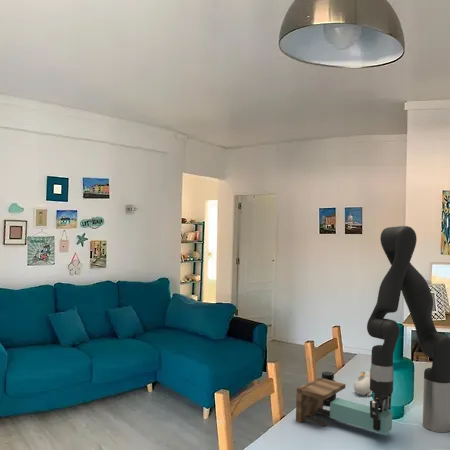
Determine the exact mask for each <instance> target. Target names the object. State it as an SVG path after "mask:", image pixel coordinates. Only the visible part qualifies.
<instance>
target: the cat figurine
mask: <svg viewBox="0 0 450 450" xmlns="http://www.w3.org/2000/svg"><path fill="white" fill-rule="evenodd" d="M353 390H354V391H355V392H356V394H357V395H360V396H364V395H366V396H367V397H370V396H371V395H372V394H371V390H370V370H369V371H368V370H365V371H361V372H360V374H359V375H357V379H356V380H355V381H354V383H353Z"/></svg>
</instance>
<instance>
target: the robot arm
mask: <svg viewBox="0 0 450 450" xmlns="http://www.w3.org/2000/svg"><path fill="white" fill-rule="evenodd" d="M379 239H380V245H381V247H382V250H383V252H384V254H385V256H386V257H387V260H388V262H389V263H390V265H391V266H390V268H389V269H388V271H387V273H386V274H385V276H384V277H383V279H382V281H381V283H380V286H379V290H378V292H377V293H378V295H377V299H376V304H375V306H374V308H373V310H372V312H371V314H370V316H369V318H368V320H367V324H366V331H367V334H368V335H369V336H370V337H371V338H375V339H379V340H383V344H377V345H373V346H372V348H371V359H370V360H371V362H370V363H371V364H370V369H369V372H370V390H371V391H372V392H373V393H374V395H373V399H372V400H370V401H369V407H370V418H373V429H374V430H377V431H379V430H380V419H381V414H382V413H383V411H388V412H390V410H391V407H392V395H393V392H394V374H395V373H394V352H395V349H396V345H397V342H398V339H399V336H400V330H401V329H400V326H399V324H398V322H397V321H396V320H393V319H390V318H385V317H386V316H387V315H388V314H391V313H396V312H397V311H398V309H399V304H400V299H401V295H402V297H403V299H404V302H405V304H406V305H407V309H408V311H409V314H410V317H411V320H412V322H413V325H414V328H415V331H416V336H417V339H418V340H417V341H418V344H419V348H420V350H421V352H422V353H423V354H424V355H425V357H428V358H430V359H432V363H431V367H427V368H425V369H424V371H423V401H422V405H423V406H422V427H424V428H425V429H427V430H429V431H432V432H437V433H448V432H450V337H449V336H447V335H443V334H441V333H439V332H438V330H437V329H436V327H435V323H434V321H433V316H432V315H433V307H434V298H433V297H434V296H433V294H432V292H431V289H430V285H429V283H428V282H427V280H426V279H425V277H424V276H423V275H422V274H421V273H420V272H419V271H418V270H417V268H415V267H414V265H412V263H411V260H412V258H413V255H414V253H415V249H416V246H417V245H416V244H417V242H418V241H417V239H418V238H417V233H416V231H415V229H413V227H411V226H407V225H400V226H390V227H386V228H384V229H383V230H382V231H381V234H380V238H379ZM379 409H380V410H379ZM375 413H376V415H375Z"/></svg>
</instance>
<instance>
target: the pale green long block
mask: <svg viewBox="0 0 450 450" xmlns="http://www.w3.org/2000/svg"><path fill="white" fill-rule="evenodd" d="M379 410H380V408H379ZM329 411H330V417H329V419H333V420H336V421H339V422H343V423H345V424H350V425H352V426H356V427H359V428H361V429H362V428H363V429H364V430H365V429H366V430H369V431H372V432H374V433H375V432H376V433H378V434H383V435H387V434H388V433H389V432H390V431H391V430H392V428H393V412H392V411H391V412H390V411H389V412H388V411H383V413H382V414H381V419H380V430H379V431H377V430H374V429H373V418H370V405H369V406H368V405H365V404H362V403H358V402H353V401H351V400H346V399H343V398H339V397H336V399H335V400H333V401H332V402H330V406H329ZM375 415H376V413H375Z"/></svg>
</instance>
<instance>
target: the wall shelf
mask: <svg viewBox="0 0 450 450" xmlns="http://www.w3.org/2000/svg"><path fill="white" fill-rule="evenodd" d="M335 381H336V380H335ZM335 381H331V380H327V379H323V378H322V377H318V378H315V379H314V380H313V379H312V380H311V381H309V382H306V383H305V384H303V385H300V386H299V387H297V388H296V400H295V402H296V403H295V405H296V406H295V422H296V423H300V424H301V423H304V422H309V423H311V424H314V425H318V426H320V427H324V428H325V427H328V426H327V425H328V421H326V420H324V419H321V418H316V417H313V416H315V415H316V414H320V415H323V416H326V417H329V418H330V410H327V409H325V408H324V405H323V400H325V399H327V398H329V397H331V396H332V395H334V394H336V395H337V394H338V393H339V392H341V391H343V390H345V389H346V383H342V382H339V381H336V382H335Z"/></svg>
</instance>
